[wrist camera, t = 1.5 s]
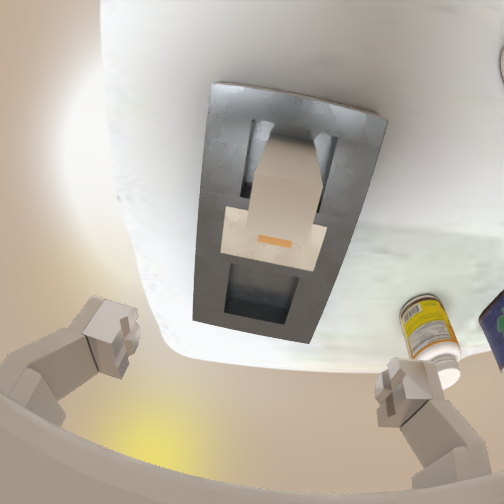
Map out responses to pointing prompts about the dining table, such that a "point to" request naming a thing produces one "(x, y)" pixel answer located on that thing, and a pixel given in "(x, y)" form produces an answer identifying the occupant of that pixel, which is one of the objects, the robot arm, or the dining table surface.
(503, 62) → the supplement bottle
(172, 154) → the dining table surface
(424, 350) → the supplement bottle
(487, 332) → the flask
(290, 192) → the plug
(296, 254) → the panel
